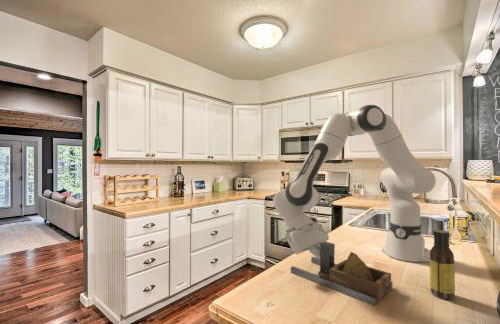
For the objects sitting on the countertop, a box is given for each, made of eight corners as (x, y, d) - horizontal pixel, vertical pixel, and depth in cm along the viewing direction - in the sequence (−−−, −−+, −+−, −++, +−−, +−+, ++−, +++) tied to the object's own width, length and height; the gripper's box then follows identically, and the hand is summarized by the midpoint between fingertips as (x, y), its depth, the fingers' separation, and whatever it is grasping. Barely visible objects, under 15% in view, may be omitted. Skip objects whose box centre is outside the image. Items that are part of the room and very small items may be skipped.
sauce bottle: (457, 296, 80) (459, 232, 80) (450, 302, 76) (451, 235, 76) (433, 287, 85) (434, 227, 85) (425, 293, 81) (426, 230, 81)
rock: (385, 280, 85) (359, 265, 94) (377, 263, 82) (352, 249, 91) (364, 305, 82) (340, 287, 91) (356, 289, 79) (331, 271, 87)
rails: (312, 261, 106) (313, 256, 106) (392, 288, 85) (392, 282, 85) (290, 272, 96) (290, 266, 96) (375, 305, 74) (375, 298, 74)
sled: (330, 268, 99) (330, 239, 99) (390, 288, 84) (391, 254, 83) (313, 277, 91) (313, 246, 91) (377, 302, 76) (377, 264, 75)
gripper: (288, 226, 93) (310, 261, 86) (318, 217, 107) (340, 246, 101) (278, 235, 97) (299, 269, 90) (309, 225, 111) (329, 255, 104)
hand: (321, 257), depth 95 cm, fingers closed, pressing on sled
